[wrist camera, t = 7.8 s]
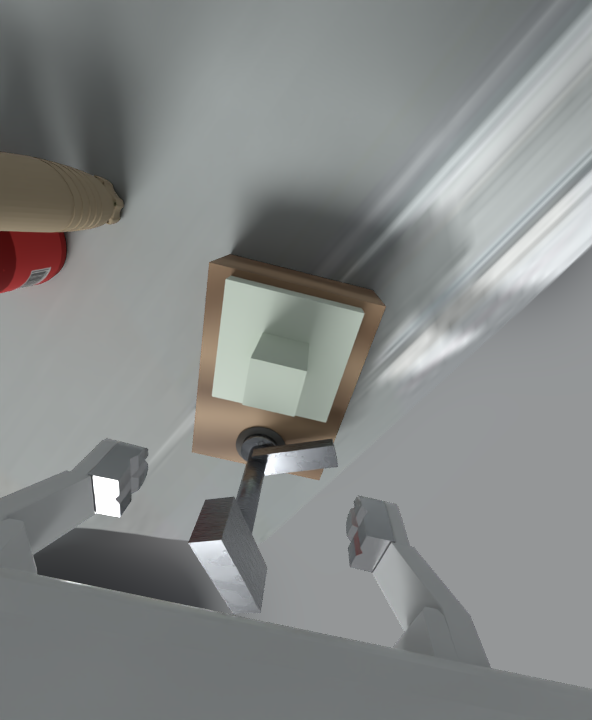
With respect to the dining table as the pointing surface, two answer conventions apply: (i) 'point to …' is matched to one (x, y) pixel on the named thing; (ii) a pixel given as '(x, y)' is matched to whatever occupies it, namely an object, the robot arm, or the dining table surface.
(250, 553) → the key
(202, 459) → the dining table surface
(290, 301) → the lid
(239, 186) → the dining table surface
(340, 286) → the case
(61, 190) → the handle
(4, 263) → the canned food
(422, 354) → the dining table surface
